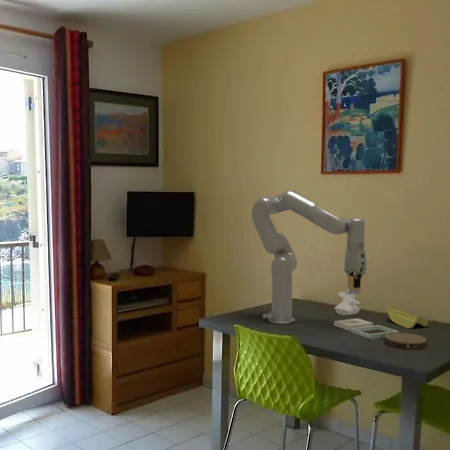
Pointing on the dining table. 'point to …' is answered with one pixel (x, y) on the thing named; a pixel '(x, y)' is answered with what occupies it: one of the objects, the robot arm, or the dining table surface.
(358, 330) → the tray
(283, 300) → the robot arm
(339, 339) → the dining table surface
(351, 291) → the tan rectangular block
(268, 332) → the dining table surface
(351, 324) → the block
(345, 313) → the white faceted figurine
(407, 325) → the plastic component
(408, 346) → the wood slice coaster
